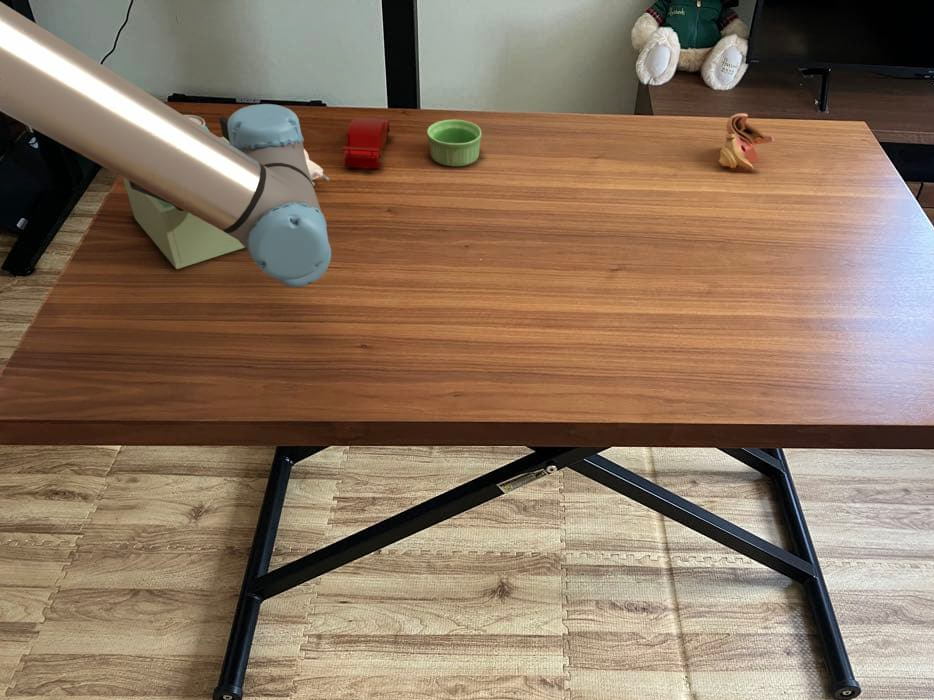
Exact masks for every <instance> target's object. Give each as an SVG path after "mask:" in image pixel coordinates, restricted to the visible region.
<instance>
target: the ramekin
mask: <svg viewBox="0 0 934 700" xmlns="http://www.w3.org/2000/svg"><path fill="white" fill-rule="evenodd" d="M482 132H483V131H482V129H481V128H480V126H479V125H477V124H475V123H473V122H471V121H469V120H464V119H463V120H462V119H444V120H439V121H436V122H434V123H432V124H431V125H429V126H428V127H427V129H426V135H427V139H428V143H429V152H430V156H431V158H432V160H433V161H435V163H437V164H439V165H443V166H447V167H465V166H468V165H471V164H474V163H475V162H476V161H477V160H478V158H479V155H480V149H481V147H480V146H481V139H482V134H483V133H482Z"/></svg>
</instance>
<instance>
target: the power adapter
mask: <svg viewBox="0 0 934 700" xmlns="http://www.w3.org/2000/svg"><path fill="white" fill-rule="evenodd" d="M304 155H305V160H306V163H307V166H308V170H309V173H310V176H311V180H312V183H313V186H314V187H315V186H316V184H315V182H314V180H316V179H318V178H321V180H324V181H325V182H329V181H330V177H328V176H327V175H326V174H324V168H322V167H321V166H320V165H318V164H317V163H315V162H314V161H312V160H311V159H310V157H309V153H308V151H307V150H306V149H305V148H304Z"/></svg>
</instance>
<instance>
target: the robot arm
mask: <svg viewBox="0 0 934 700" xmlns="http://www.w3.org/2000/svg"><path fill="white" fill-rule="evenodd" d="M0 112H1V113H4V114H5V115H7V116H8V117H10V118H12V119H14V120H16V121H18V122H20V123H22V124H24V125H25V126H27V127H29V128H32V129H33V130H35V131H36V132H39V133H41V134H42V135H45V136H46V137H48V138H50V139H51V140H53V141H55V142H57V143H59V144H61V145H63V146H64V147H66V148H68V149H70V150H72V151H74V152H76V153H78V154H79V155H81V156H82V157H85V158H87V159H89V160H90V161H92V162H94V163H96V164H98V165H99V166H102V167H103V168H105V169H107V170H108V171H111V172H113V173H115V174H116V175H118V176H120V177H121V178H123V177H124V178H126V179H127V180H129V183H130V186H131V188H132V189H134V190H136V191H139V192H142V193H144V194H147V195H149V196H152V197H154V198H157V199H159V200H162V201H165V202H167V203H170V204H172V205H173V206H174V207H175V208H176V209H177V210H179V211H187V212H188V213H190V214H192V215H194V216H196V217H198V218H200V219H201V220H203V221H205V222H207V223H209V224H211V225H213V226H214V227H216V228H218V229H220V230H222V231H224V232H225V233H227V234H229V235H230V236H232V237H234V238H236V239H237V240H239V241H240V242H241V243H242V244H243V246H245V249H246V250H247V251H248V253H249V255H250V256H251V258H252V259H253V262H254V263H255V265H256V266H257V267H258V268H259V269H260V270H261V271H262V272H263V273H265V274H266V275H268V276H270V277H271V278H273V279H275V280H276V281H277V282H278V283H280V284H281V285H283V286H285V287H289V288H297V289H298V288H303V287H308V286H309V285H312V284H314V283H315V282H317V281H318V280H319V279H320V278H321V277H323V275H324V274H325V273H326V272H327V270H328V268H329V266H330V263H331V260H332V247H331V245H330V241H329V235H328V230H327V229H328V228H327V220H326V218H325V215H324V213H323V212H322V209H321V206H320V203H319V199H318V196H317V194H316V191H315V186H313V183H312V182H313V180H311V176H310V173H309V170H308V166H307V163H306V160H305V155H304V149H305V148H304V141H305V138H304V136H303V134H302V130H301V124H300V119H299V117H298V116H297V114H296V113H295V112H294V111H293V110H292V109H290V108H287V107H285V106H282V105H278V104H271V103H261V104H251V105H248V106H244V107H241V108H239V109H238V110H236V111H235V112H233V113H232V114H231V115H230V116H229V118H226V116H221V117H219V118H218V119H219V124H220V129H221V135H222V137H224V138H225V139H227V140H228V141H229V142H230V143H227V142H225V141H224V140H222V139H221V138H220V136H217V135H216V134H214V133H213V132H211V131H210V130H209V129H208V130H209V131H208V130H206V129H205V128H203V127H201V126H200V125H198V124H196V123H195V122H193V121H192V120H190V119H188V118H187V117H185V116H184V115H185V114H182V113H180V112H179V111H177V110H176V109H174V108H172V107H170V106H169V105H168V104H166V103H165V102H163V101H162V100H160V99H158V98H156V97H155V96H154V95H151V94H150V93H148V92H146V91H145V90H143V89H142V88H140V87H138V86H137V85H135V84H134V83H132V82H131V81H129V80H127V79H125V77H123V76H121V75H119V74H117V73H116V72H115V71H113V70H111V69H109V68H108V67H106V66H105V65H103V64H102V63H100V62H98V61H97V60H95V59H94V58H92V57H90V56H88V55H87V54H85V53H84V52H82V51H80V50H79V49H77V47H74V46H73V45H71V44H69V43H67V41H65V40H63V39H61V38H59V37H58V36H56V35H54V34H53V33H51V32H50V31H49V30H47V29H46V28H43V27H42V26H40V25H39V24H37V23H35V22H34V21H32V20H31V19H29V18H28V17H26V16H24V15H23V14H21V13H19V12H17V11H16V10H14V9H12V8H11V7H10V6H8V5H6V4H5V3H3V2H2V1H0Z"/></svg>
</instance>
